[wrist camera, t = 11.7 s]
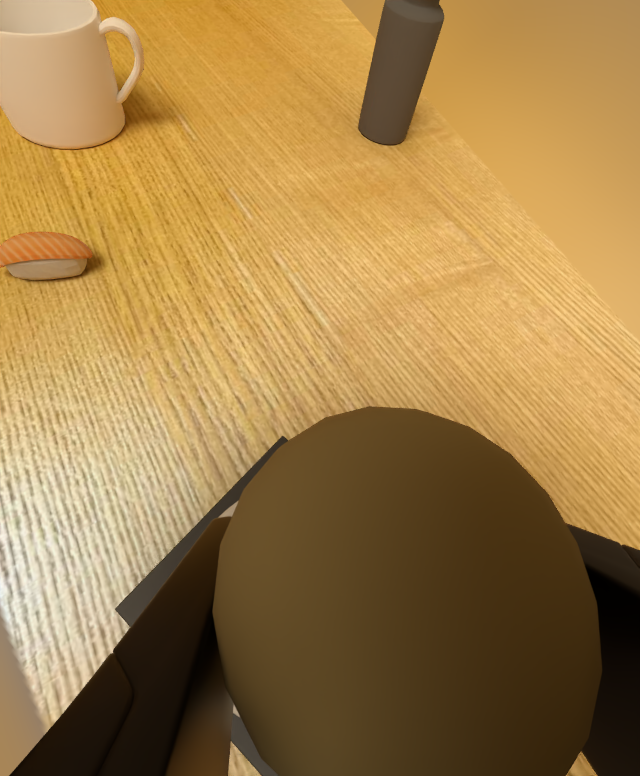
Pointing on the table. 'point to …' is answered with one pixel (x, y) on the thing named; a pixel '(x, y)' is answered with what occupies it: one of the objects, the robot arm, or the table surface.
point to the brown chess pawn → (405, 606)
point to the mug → (62, 72)
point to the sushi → (44, 255)
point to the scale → (158, 576)
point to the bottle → (399, 67)
